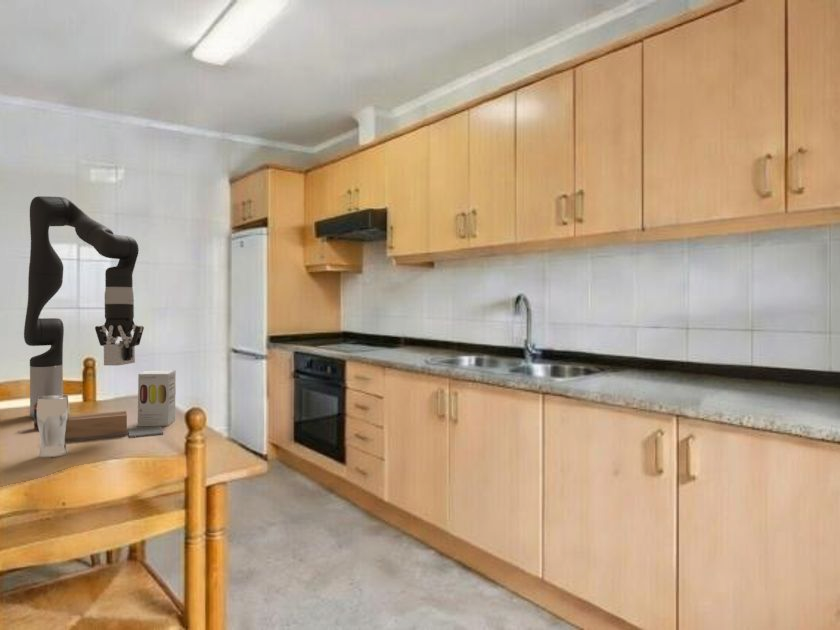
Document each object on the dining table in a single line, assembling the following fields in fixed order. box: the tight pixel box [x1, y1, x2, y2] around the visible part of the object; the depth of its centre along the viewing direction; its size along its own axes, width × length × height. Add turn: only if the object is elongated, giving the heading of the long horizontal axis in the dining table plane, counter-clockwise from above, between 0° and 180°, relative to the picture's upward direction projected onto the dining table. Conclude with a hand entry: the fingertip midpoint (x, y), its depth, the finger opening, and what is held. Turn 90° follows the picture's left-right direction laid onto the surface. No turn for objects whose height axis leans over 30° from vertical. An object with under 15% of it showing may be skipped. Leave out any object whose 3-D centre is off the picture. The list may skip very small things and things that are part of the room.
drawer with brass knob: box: [103, 340, 136, 366], centre depth 160 cm, size 4×8×7 cm, turn 177°
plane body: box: [65, 410, 129, 443], centre depth 158 cm, size 7×18×6 cm, turn 120°
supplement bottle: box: [33, 397, 39, 430], centre depth 167 cm, size 5×5×10 cm
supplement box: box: [137, 369, 177, 427], centre depth 176 cm, size 10×9×17 cm
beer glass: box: [37, 394, 70, 459], centre depth 139 cm, size 7×7×15 cm
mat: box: [127, 425, 164, 438], centre depth 163 cm, size 10×9×1 cm
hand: (119, 360), depth 160 cm, fingers closed on drawer with brass knob, 4 cm apart
